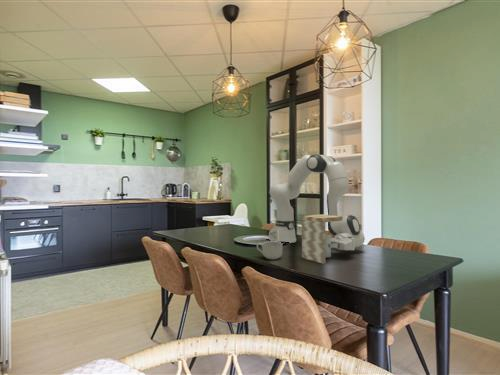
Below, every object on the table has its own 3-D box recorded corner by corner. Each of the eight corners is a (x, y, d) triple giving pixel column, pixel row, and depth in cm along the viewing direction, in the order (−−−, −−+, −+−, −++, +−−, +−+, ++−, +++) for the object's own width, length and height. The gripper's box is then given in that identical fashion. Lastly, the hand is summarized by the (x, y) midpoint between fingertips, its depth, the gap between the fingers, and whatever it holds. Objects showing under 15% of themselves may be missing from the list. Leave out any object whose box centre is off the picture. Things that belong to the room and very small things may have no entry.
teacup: (286, 257, 162) (286, 242, 162) (277, 261, 152) (277, 245, 152) (262, 254, 169) (262, 239, 169) (253, 258, 159) (253, 243, 159)
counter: (301, 257, 160) (301, 215, 160) (320, 254, 168) (320, 214, 168) (323, 263, 148) (323, 218, 148) (342, 259, 156) (342, 216, 155)
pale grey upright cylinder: (316, 255, 160) (316, 234, 160) (324, 254, 163) (324, 233, 163) (325, 258, 155) (325, 236, 155) (333, 256, 158) (333, 235, 158)
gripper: (327, 233, 175) (309, 235, 167) (357, 238, 158) (339, 241, 150) (327, 244, 175) (309, 247, 167) (357, 250, 158) (339, 254, 150)
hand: (323, 244), depth 159 cm, fingers closed on pale grey upright cylinder, 6 cm apart
